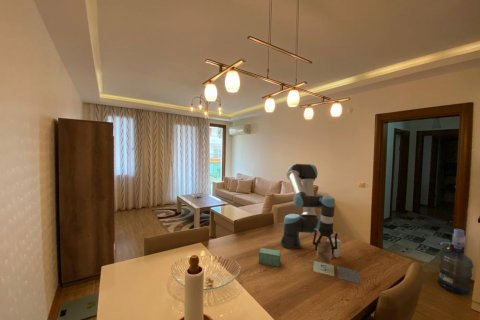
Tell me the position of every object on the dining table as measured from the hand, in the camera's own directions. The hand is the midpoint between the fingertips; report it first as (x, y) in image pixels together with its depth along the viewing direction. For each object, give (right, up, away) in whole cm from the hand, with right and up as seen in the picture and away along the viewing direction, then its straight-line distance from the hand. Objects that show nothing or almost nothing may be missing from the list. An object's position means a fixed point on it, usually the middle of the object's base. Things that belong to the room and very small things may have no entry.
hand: (323, 257), depth 133 cm
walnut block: (0, -1, 0) cm, 1 cm away
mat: (+12, -8, -7) cm, 16 cm away
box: (-34, -5, +4) cm, 34 cm away
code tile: (0, -7, 0) cm, 7 cm away
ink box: (+13, -7, +16) cm, 22 cm away
